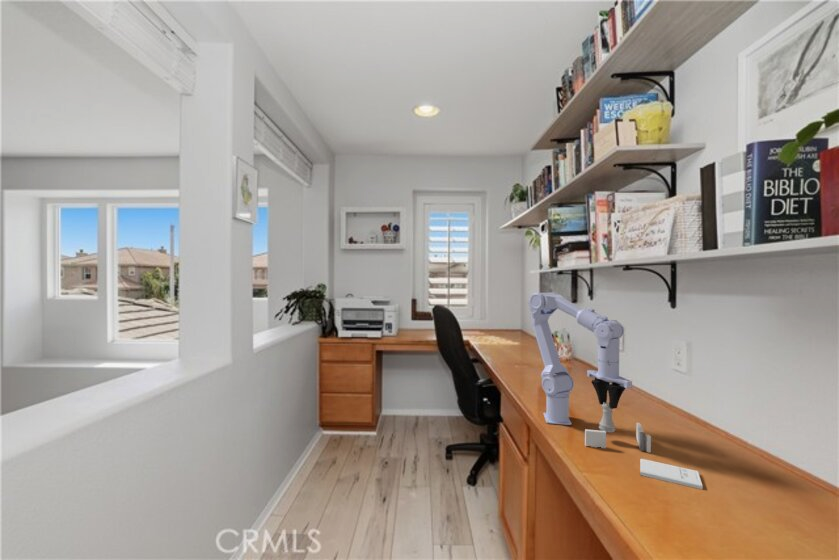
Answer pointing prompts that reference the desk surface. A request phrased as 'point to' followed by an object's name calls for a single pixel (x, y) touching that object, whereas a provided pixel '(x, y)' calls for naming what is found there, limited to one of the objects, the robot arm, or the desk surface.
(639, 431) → the door
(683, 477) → the external hard drive
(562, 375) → the robot arm
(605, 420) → the rook chess piece
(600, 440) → the wall
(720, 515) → the desk surface
